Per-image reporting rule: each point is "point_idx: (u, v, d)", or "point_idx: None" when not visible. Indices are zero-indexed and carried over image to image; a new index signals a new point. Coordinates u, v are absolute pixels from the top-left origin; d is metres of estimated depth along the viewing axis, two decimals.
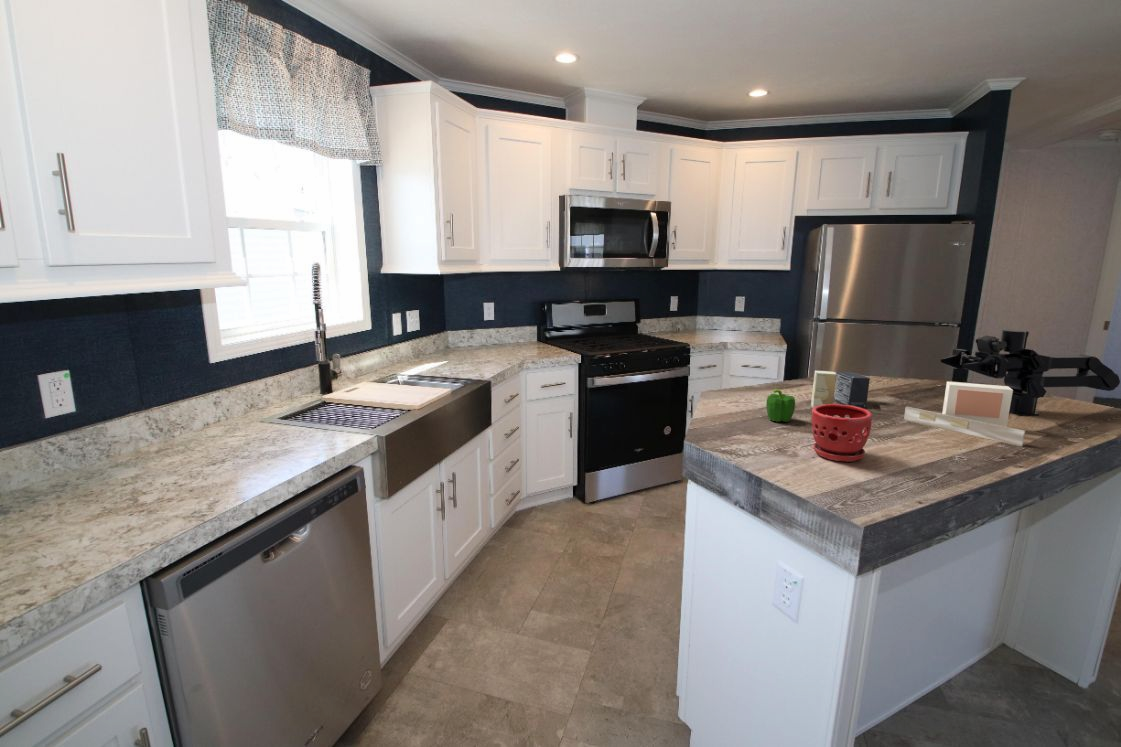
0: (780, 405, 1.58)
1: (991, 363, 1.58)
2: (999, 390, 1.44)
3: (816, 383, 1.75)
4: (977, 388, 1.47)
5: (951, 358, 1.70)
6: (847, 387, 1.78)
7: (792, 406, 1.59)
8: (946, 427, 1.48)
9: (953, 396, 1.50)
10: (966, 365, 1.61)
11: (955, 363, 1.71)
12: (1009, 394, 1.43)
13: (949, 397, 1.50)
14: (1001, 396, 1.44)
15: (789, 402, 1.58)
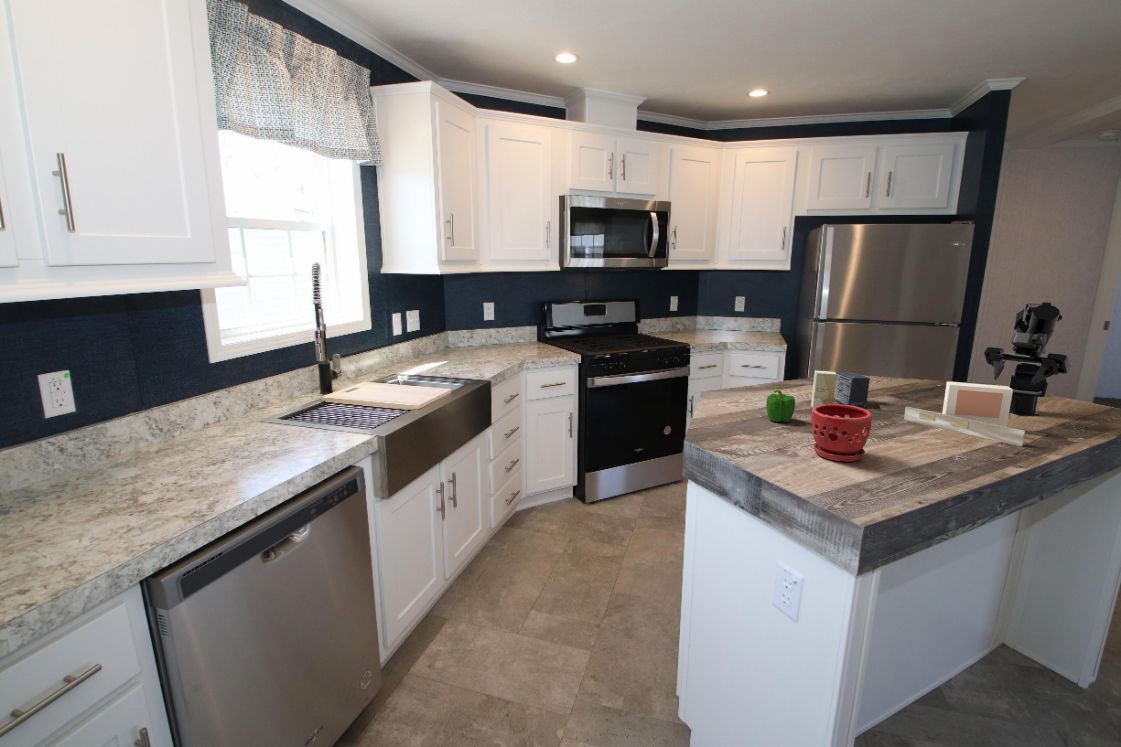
0: (780, 405, 1.58)
1: (1053, 365, 1.47)
2: (999, 390, 1.44)
3: (816, 383, 1.75)
4: (977, 388, 1.47)
5: (999, 368, 1.56)
6: (847, 387, 1.78)
7: (792, 406, 1.59)
8: (946, 427, 1.48)
9: (953, 396, 1.50)
10: (1033, 381, 1.48)
11: (1001, 367, 1.58)
12: (1009, 394, 1.43)
13: (949, 397, 1.50)
14: (1001, 396, 1.44)
15: (789, 402, 1.58)
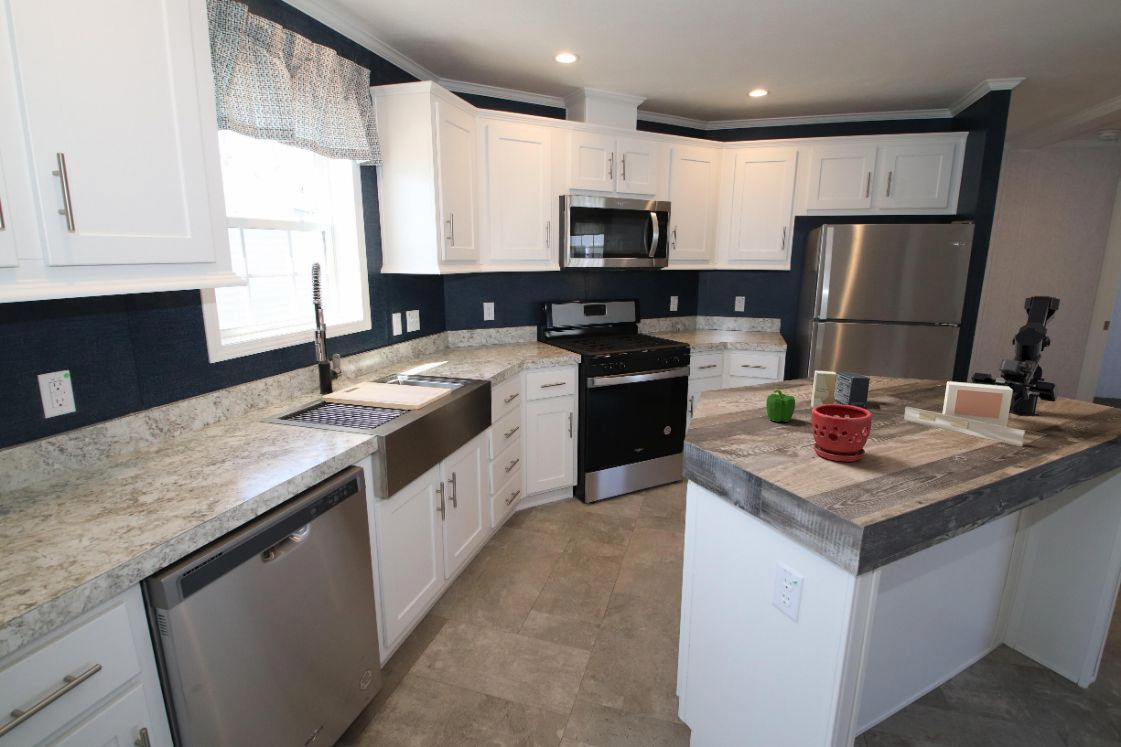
0: (780, 405, 1.58)
1: (1023, 390, 1.47)
2: (999, 390, 1.44)
3: (816, 383, 1.75)
4: (977, 388, 1.47)
5: None
6: (847, 387, 1.78)
7: (792, 406, 1.59)
8: (946, 427, 1.48)
9: (952, 396, 1.50)
10: None
11: None
12: (1009, 394, 1.43)
13: (949, 397, 1.50)
14: (1001, 396, 1.44)
15: (789, 402, 1.58)
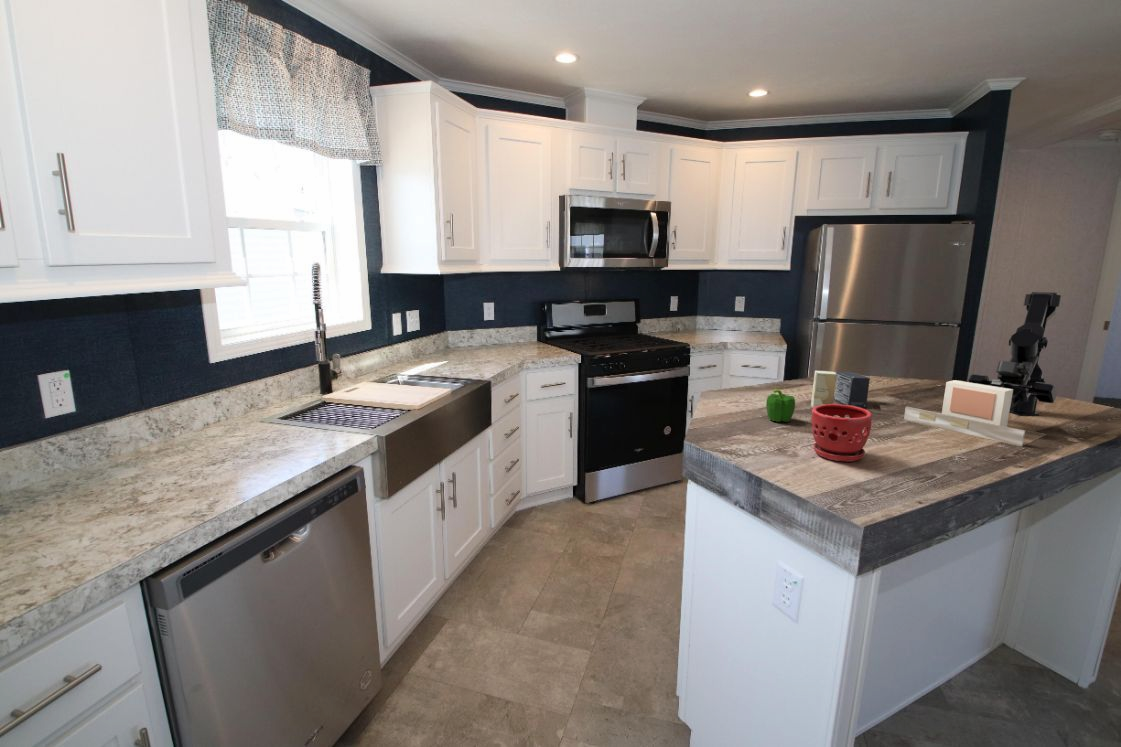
0: (780, 405, 1.58)
1: (1022, 392, 1.45)
2: (992, 391, 1.44)
3: (816, 383, 1.75)
4: (971, 387, 1.48)
5: None
6: (847, 387, 1.78)
7: (792, 406, 1.59)
8: (946, 427, 1.48)
9: (949, 393, 1.53)
10: None
11: None
12: (1001, 395, 1.42)
13: (945, 394, 1.53)
14: (993, 397, 1.43)
15: (789, 402, 1.58)
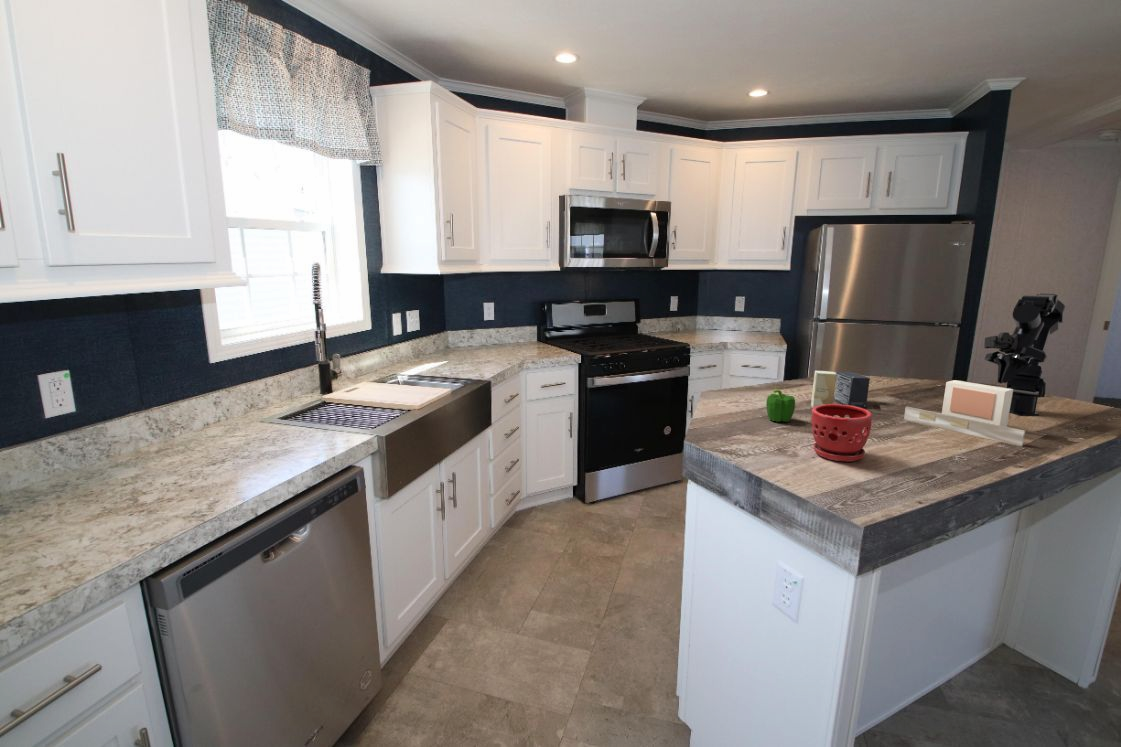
0: (780, 405, 1.58)
1: (1014, 360, 1.53)
2: (992, 391, 1.44)
3: (816, 383, 1.75)
4: (971, 387, 1.48)
5: (1002, 371, 1.58)
6: (847, 387, 1.78)
7: (792, 406, 1.59)
8: (946, 427, 1.48)
9: (949, 393, 1.53)
10: (1003, 380, 1.56)
11: None
12: (1001, 395, 1.42)
13: (945, 394, 1.53)
14: (993, 397, 1.43)
15: (789, 402, 1.58)
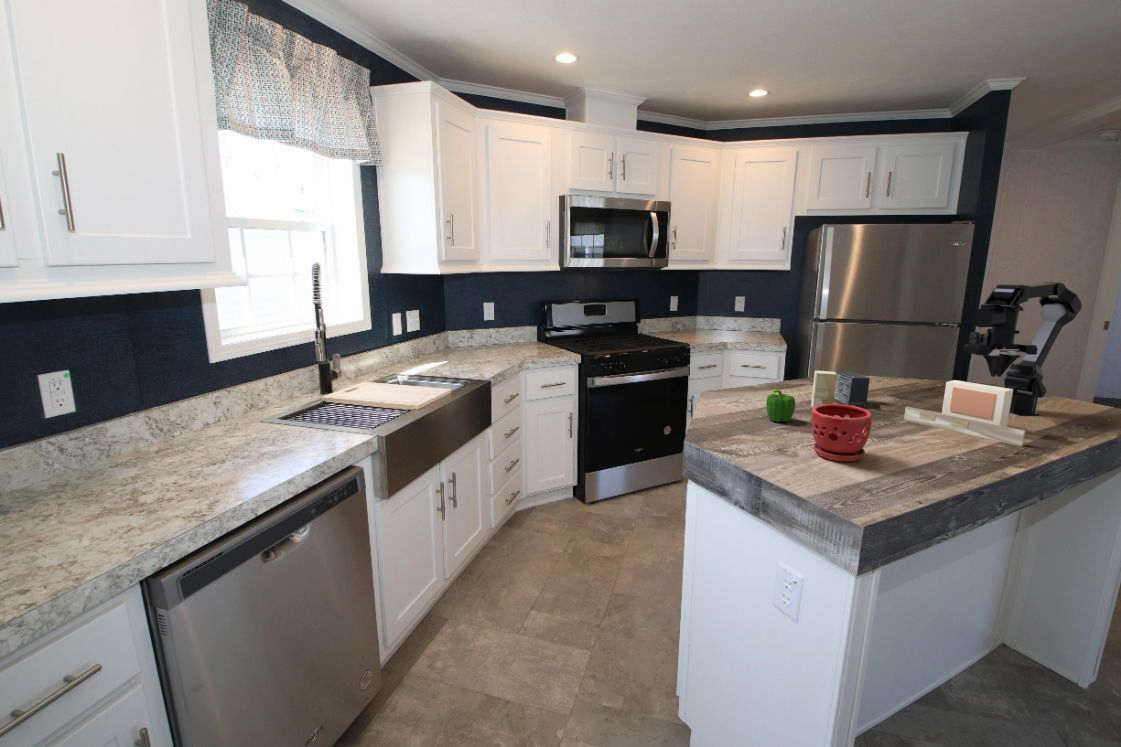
0: (780, 405, 1.58)
1: (984, 355, 1.63)
2: (992, 391, 1.44)
3: (816, 383, 1.75)
4: (971, 387, 1.48)
5: None
6: (847, 387, 1.78)
7: (792, 406, 1.59)
8: (946, 427, 1.48)
9: (949, 393, 1.53)
10: (991, 374, 1.63)
11: (1004, 360, 1.61)
12: (1001, 395, 1.42)
13: (945, 394, 1.53)
14: (993, 397, 1.43)
15: (789, 402, 1.58)
